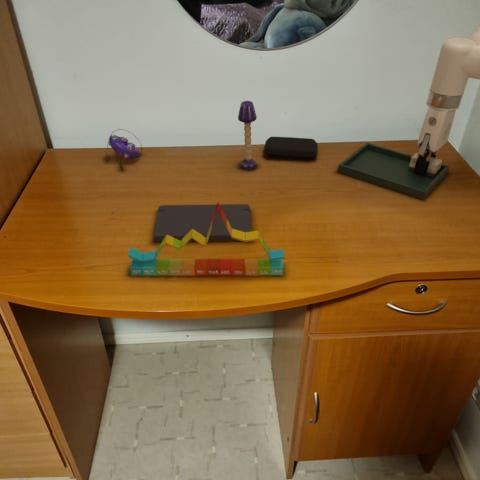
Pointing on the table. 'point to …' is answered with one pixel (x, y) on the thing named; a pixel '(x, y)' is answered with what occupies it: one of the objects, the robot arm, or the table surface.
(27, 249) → the table surface
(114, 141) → the purple ringed ornament
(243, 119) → the toy lamp
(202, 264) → the chart
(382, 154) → the tray
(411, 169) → the wooden block
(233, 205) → the notebook
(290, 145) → the carrying case
